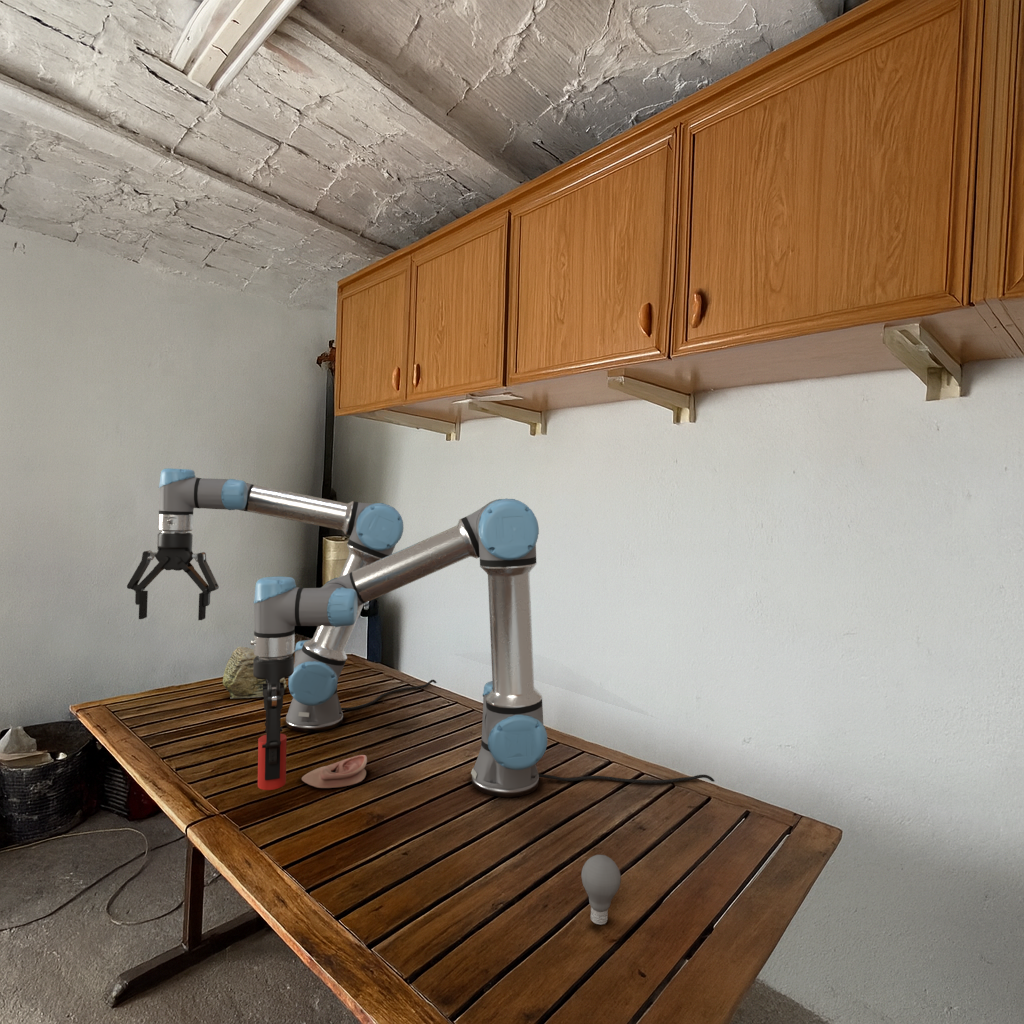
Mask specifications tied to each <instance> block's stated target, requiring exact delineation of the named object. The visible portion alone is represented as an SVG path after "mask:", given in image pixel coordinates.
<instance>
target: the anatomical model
mask: <svg viewBox="0 0 1024 1024" xmlns="http://www.w3.org/2000/svg"><path fill="white" fill-rule="evenodd" d="M367 763H368V757H367V755H365V754H359V755H354V756H351V757H347V758H345V759H342V760H340V761H337V762H334V763H331V764H328V765H325V766H324V765H323V766H321V767H318V768H315V769H313V770H311V771H309V772H307V773H306V774H304V775H302V777H301V781H302V782H303V783H305V784H307V785H308V786H311V787H314V788H317V789H332V788H343V787H347V786H353V785H356V784H359V783H361V782H363V780H365V778H366V776H367V770H366V769H365V768H366V766H367Z"/></svg>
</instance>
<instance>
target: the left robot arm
mask: <svg viewBox="0 0 1024 1024" xmlns="http://www.w3.org/2000/svg"><path fill="white" fill-rule="evenodd" d="M194 509H209V510H228V511H237V510H238V511H241V512H249V513H254V514H258V515H262V516H263V515H264V516H268V517H273V518H278V519H284V520H288V521H293V522H299V523H302V524H309V525H314V526H319V527H322V528H323V527H324V528H328V529H332V530H333V529H334V530H339V531H342V532H343V533H344V535H346V536H349V538H348V540H347V543H346V546H347V549H348V551H349V552H348V556H347V558H346V561H345V562H344V565H343V566H342V570H341V572H340V573H339V576H338V578H339V577H341V576H343V575H346V574H348V573H351V572H353V571H355V570H357V569H359V568H361V567H364V566H366V565H368V564H371V563H373V562H375V561H377V560H380V559H382V558H384V557H387V556H389V555H391V554H393V551H394V550H395V547H396V546H397V544H398V543H399V542H400V540H401V539H402V536H403V533H404V520H403V518H402V517H403V516H402V515H401V514H400V512H399V511H398V510H397V509H396V508H395V507H393V506H392V505H389V504H386V503H384V502H373V503H372V502H371V503H370V502H362V501H361V502H360V501H355V500H351V501H350V502H348V503H347V502H342V501H337V500H332V499H327V498H322V497H317V496H312V495H309V494H303V493H298V492H293V491H287V490H284V489H278V488H273V487H268V486H265V485H264V486H263V485H258V484H252V483H248V482H246V481H245V480H242V479H235V478H204V477H203V478H202V477H196V474H195V471H194V470H193V469H190V468H189V469H188V468H173V467H172V468H170V467H168V468H163V469H162V470H161V471H160V475H159V485H158V521H157V531H159V532H158V533H157V543H156V544H157V547H156V548H157V550H156V551H152V550H151V549H150V550H145V551H143V552H142V556H141V561H140V562H139V563H138V565H137V567H136V569H135V571H134V573H133V574H132V576H131V577H130V579H129V581H128V583H127V585H126V588H127V589H129V590H133V591H134V593H135V597H134V598H135V599H134V604H135V605H136V606H138V620H143V619H146V618H147V617H148V598H149V597H148V595H149V590H146V588H147V587H148V586H150V584H151V583H152V582H153V581H154V580H155V579H156V578H157V576H158V575H160V574H161V572H162V571H163V570H165V571H172V570H173V571H178V572H179V571H183V572H184V573H186V574H187V575H188V576H189V578H190V579H191V580H192V582H194V584H195V585H196V586H197V588H198V589H200V591H201V592H200V593H199V594H198V616H197V617H198V619H197V621H203V620H205V619H206V613H207V612H206V609H207V607H208V606H210V605H211V593H212V592H214V591H217V590H218V589H219V588H220V586H219V584H218V582H217V580H216V578H215V576H214V574H213V572H212V570H211V567H210V565H209V563H208V560H207V554H206V552H204V551H201V552H198V553H197V552H196V553H194V552H193V537H194V536H193V533H191V532H192V531H193V530H194ZM154 559H155V560H157V562H158V563H157V564H156V565H155V566H154V567H153V569H152V570H151V571H150V572H149V573H148V574H147V575H146V576H145V577H144V578H143V576H144V575H145V572H146V571H147V569H148V567H149V565H150V563H151V562H152V561H153V560H154ZM192 560H195V562H197V564H198V566H199V568H200V571H201V572H202V575H203V577H204V578H203V577H202V575H200V573H199V572H198V571H197V570H196V569H195V566H194V565H193V564H192V563H191V562H192ZM142 578H143V579H142ZM141 579H142V580H141ZM364 605H365V603H364V604H362V605H360V606H358V607H357V617H356V621H355V623H354V624H353V625H350V626H340V627H335V626H316V630H315V632H314V633H313V637H312V638H311V639H306V640H305V639H303V640H299V641H297V642H296V643H295V647H294V672H293V674H292V675H291V676H289V677H288V680H287V684H288V690H289V693H290V695H291V696H292V699H291V702H290V704H289V708H288V711H287V713H286V715H285V726H286V728H287V729H289V730H291V731H294V732H295V731H296V732H301V733H316V732H325V731H329V730H332V729H335V728H337V727H339V726H340V725H342V723H343V722H344V713H343V711H353V710H357V709H358V710H359V709H362V708H366V707H368V706H371V705H373V704H376V702H379V700H380V699H381V698H383V697H386V696H388V695H390V694H394V693H399V692H403V691H409V690H418V689H423V688H426V687H428V686H429V685H430V684H432V683H434V684H437V683H438V682H437V681H436V680H435V679H431V680H429V681H428V682H427V683H425V684H423V685H417V686H416V685H415V686H408V687H402V688H396V689H393V690H389V691H387V692H384V693H382V694H380V695H378V696H377V698H375V699H373V700H371V701H369V702H366V703H364V704H360V705H356V706H350V707H342V706H341V702H340V699H339V695H338V683H339V679H340V676H341V675H342V671H343V669H344V667H345V664H346V662H347V660H348V655H347V653H346V651H345V649H346V647H347V645H348V642H349V640H350V639H351V635H352V633H353V630H354V629H355V626H356V623H357V621H358V619H359V616H360V615H361V612H362V609H363V607H364Z"/></svg>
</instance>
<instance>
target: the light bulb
mask: <svg viewBox="0 0 1024 1024" xmlns="http://www.w3.org/2000/svg"><path fill="white" fill-rule="evenodd" d="M621 875H622V874H621V871H620V868H619V867H618V865H617V863H616V862H615V861H614V860H613V859H612V858H611V857H609V856H608V855H605V854H595V855H592V856H590V857H589V858H588V859H587V860H586V861H585V862H584V864H583V866H582V869H581V875H580V877H581V883H582V886H583V888H584V890H585V892H586V894H587V896H588V902H589V905H590V920H591V922H593V923H594V924H596V925H601V926H602V925H606V924H607V922H608V918H609V917H608V914H609V908H610V906H611V903H612V900H613V898H614V897H615V895H616V894H617V892H618V891H619V889H620V885H621V880H622V876H621Z"/></svg>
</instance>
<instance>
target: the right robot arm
mask: <svg viewBox="0 0 1024 1024" xmlns="http://www.w3.org/2000/svg"><path fill="white" fill-rule="evenodd" d="M539 535H540V529H539V521H538V519H537V517H536V515H535V513H534V511H533V509H531V508H530V506H528V505H527V504H526V503H525V502H522V501H520V500H518V499H516V498H499V499H493V500H492V501H489V502H487V503H486V504H485V505H484V506H482V507H480V508H479V509H477V510H475V511H473V512H472V513H470V514H468V515H466V516H464V517H462V518H459V519H458V522H457V524H456V525H455V526H453V527H451V528H448V529H445V530H443V531H441V532H439V533H436V534H434V535H433V536H430V537H428V538H425V539H422V540H421V541H419V542H416V543H414V544H411V545H409V546H407V547H405V548H402V549H400V550H398V551H395V552H394V553H393V552H392V554H391V555H389V556H387V557H384V558H382V559H380V560H377V561H375V562H373V563H371V564H368V565H366V566H364V567H361V568H359V569H357V570H355V571H353V572H351V573H348V574H346V575H343V576H341V577H339V576H338V577H334V578H332V579H330V580H328V581H326V583H325V584H323V586H321V587H297V584H296V580H295V578H294V577H291V576H283V575H282V576H265V577H261V578H259V579H257V581H256V583H255V588H254V599H253V606H254V607H253V617H254V618H253V635H254V636H253V638H254V639H251V640H250V641H249V643H250V645H251V646H253V649H254V655H255V656H256V657H255V658H254V660H253V675H254V677H255V678H257V679H262V680H263V679H265V680H266V684H263V696H264V697H263V710H264V711H265V722H264V727H265V728H264V732H265V734H264V735H266V744H263V745H262V748H265V780H272V779H279V778H280V746H281V741H280V733H281V732H283V726H281V724H282V723H281V721H282V709H283V708H284V695H285V691H284V682H280V679H282V678H285V679H286V678H289V676H291V675H292V674H293V672H294V663H295V656H294V655H293V654H295V648H296V643H295V641H296V640H295V639H296V637H295V636H296V634H295V633H296V632H295V628H296V627H318V626H335V627H340V626H350V625H353V624H354V623H355V621H356V617H357V607H358V606H360V605H362V604H364V605H365V604H367V603H368V602H370V601H372V600H375V599H377V598H379V597H383V596H384V595H387V594H389V593H391V592H393V591H396V590H398V589H400V588H402V587H404V586H407V585H410V584H411V583H413V582H416V581H418V580H420V579H423V578H425V577H427V576H429V575H431V574H434V573H436V572H439V571H442V570H443V569H445V568H448V567H450V566H452V565H455V564H457V563H460V562H462V561H464V560H466V559H468V558H473V559H477V560H478V559H479V567H480V568H481V570H483V571H484V572H485V573H486V574H487V588H488V610H489V629H490V630H489V634H490V654H491V655H490V657H491V659H490V660H491V679H492V680H490V681H487V682H486V683H485V684H484V686H483V693H482V697H483V699H482V722H481V740H480V741H481V743H480V749H479V752H478V755H477V758H476V760H475V763H474V766H473V767H472V769H471V772H470V774H471V784H472V786H473V788H475V789H476V790H477V791H478V792H481V793H483V794H486V795H488V796H492V797H499V798H516V797H517V798H518V797H523V796H526V795H529V794H531V793H533V792H534V791H536V790H537V789H538V787H539V781H540V779H539V778H544V779H549V780H556V781H561V782H579V781H585V780H606V781H614V782H622V783H632V784H633V783H634V784H652V785H653V784H655V785H656V784H671V783H677V782H686V781H694V780H697V779H707V780H709V781H710V782H713V783H714V782H716V780H715V779H714V778H713V777H712V776H710V775H708V774H697V775H694V776H693V775H692V776H686V777H677V778H669V779H636V778H635V779H631V778H621V777H613V776H608V775H607V776H606V775H586V776H584V775H583V776H577V777H562V776H555V775H550V774H545V773H539V770H538V767H537V763H538V762H540V760H542V758H543V756H544V755H545V753H546V751H547V747H548V732H547V729H546V727H545V725H544V709H543V708H544V707H543V694H542V693H541V692H540V691H539V690H538V689H537V688H536V687H535V670H534V646H533V645H534V644H533V622H532V600H531V599H532V598H531V596H532V595H531V572H532V570H533V569H534V568H535V567H536V565H537V564H538V563H537V542H538V539H539ZM356 622H357V621H356Z"/></svg>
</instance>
